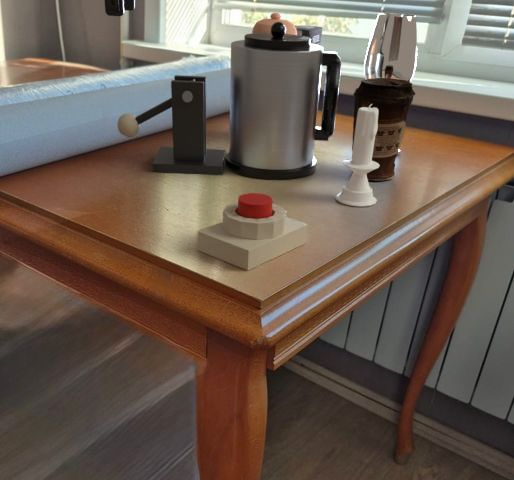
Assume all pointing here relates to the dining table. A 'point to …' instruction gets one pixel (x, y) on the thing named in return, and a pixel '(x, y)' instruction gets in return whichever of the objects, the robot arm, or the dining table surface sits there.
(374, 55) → the wineglass
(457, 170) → the dining table surface
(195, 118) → the switch bracket
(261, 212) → the power button
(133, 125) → the lever switch
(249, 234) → the power block
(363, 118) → the candle
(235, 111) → the kettle
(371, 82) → the coffee cup
